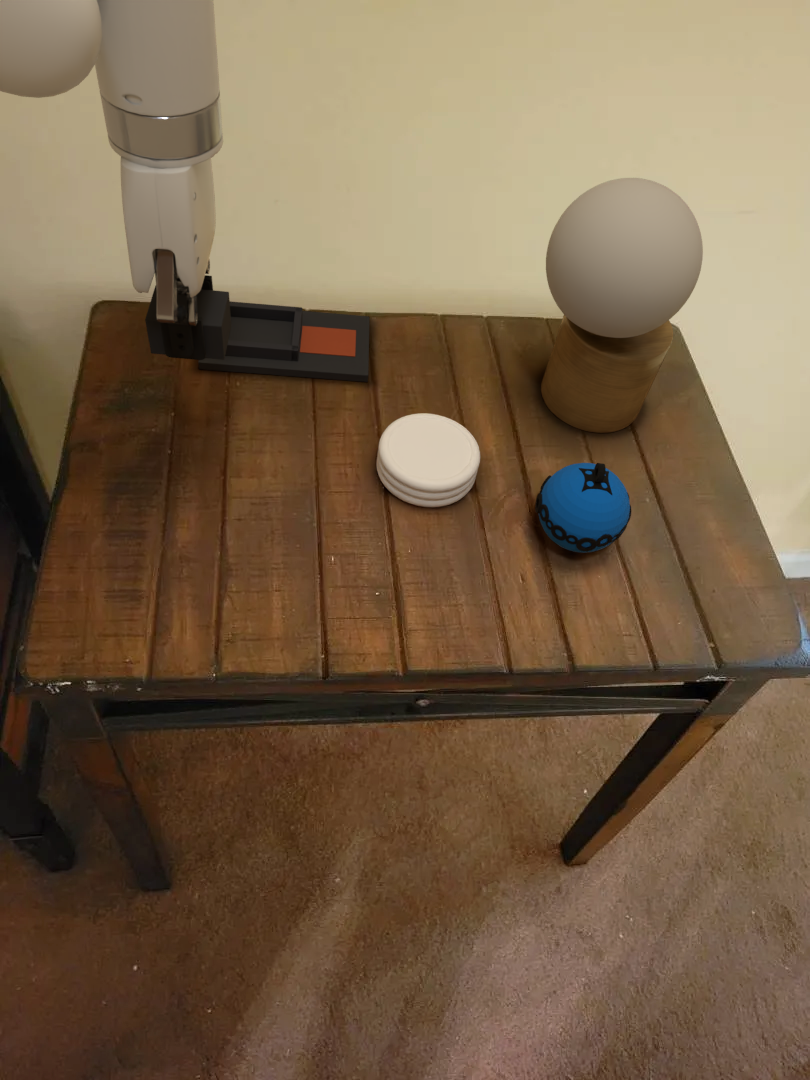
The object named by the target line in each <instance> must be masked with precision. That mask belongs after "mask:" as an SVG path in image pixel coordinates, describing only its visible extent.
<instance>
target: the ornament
mask: <svg viewBox="0 0 810 1080" xmlns="http://www.w3.org/2000/svg"><path fill="white" fill-rule="evenodd" d="M534 511H535V513H536V514H537V515H538V518H539V523H540V525H541V527H542V529H543V531H544V532H545V534H546V535H547V537H548V538H549V539H550V540H551V541H552V542H554V543H555V544H556V545H557V546H559V547H561V548H563V549H565V550H567V551H570V552H574V553H583V554H584V553H586V554H587V553H593V552H597V551H600V550H603V549H605V548H606V547H608V546H610V545H611V544H613V543H614V542H615V541H617V540H619V539H620V537H622V535H623V533H625V531H626V529H627V527H628V524H629V522H630V520H631V517H632V505H631V503H630V494H629V493H628V490H627V488H626V486H625V485H624V483H623V482H622V481H621V479H620V478H619V477H618V475H617V474H615V473H614V472H613V471H611V470H610V469H609V468H607V467H606V464H605V463H602V462H596V463H591V462H578V463H573V464H569V465H566V466H563V467H562V468H561V469H559V470H557V471H556V472H555V473H554V474H552V475H548V476H547V477H546V478H545V479H544V480H543V482H542V484H541V486H540V490H539V493H537V495H536V498H535V505H534Z"/></svg>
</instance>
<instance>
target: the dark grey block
mask: <svg viewBox="0 0 810 1080" xmlns="http://www.w3.org/2000/svg"><path fill="white" fill-rule="evenodd" d="M196 296H197V314H198V317H202V322H203V331H204V340H205V350H206V355H205V358H210V359H222V360H224V359H225V354H226V349H227V344H228V339H229V334H230V329H231V313H230V301H231V300H230V292H229V291H225V290H224V291H223V290H215V289H213V290H203V289H201V290H200V292H199V293H198V294H197V295H196ZM177 304H178V305H183V306H185V307H187V295H177ZM144 321H145V327H146V332H147V338H148V344H149V350H150V353H151V354H153V355H162V356H163V355H165V350H164V344H163V337H162V331H161V325H160V322H158V321H157V290H156V285H154V288H153V292H152V295H151V299H150V303H149V306H148V308H147V312H146V316H145V320H144ZM165 356H166V355H165Z"/></svg>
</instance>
